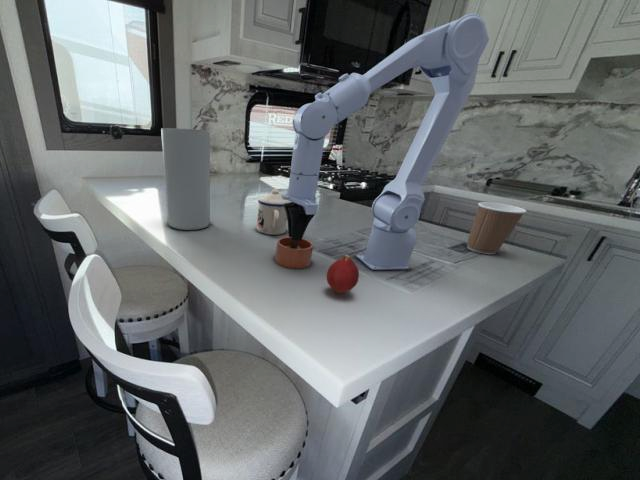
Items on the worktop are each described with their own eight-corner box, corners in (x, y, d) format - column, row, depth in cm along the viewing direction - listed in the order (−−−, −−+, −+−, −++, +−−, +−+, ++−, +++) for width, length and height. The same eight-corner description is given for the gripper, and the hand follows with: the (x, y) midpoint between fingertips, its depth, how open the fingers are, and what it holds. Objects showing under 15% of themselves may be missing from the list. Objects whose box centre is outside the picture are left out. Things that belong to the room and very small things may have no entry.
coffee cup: (511, 255, 83) (535, 210, 77) (487, 258, 80) (510, 212, 74) (475, 242, 92) (494, 201, 85) (451, 245, 88) (469, 202, 82)
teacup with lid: (254, 225, 95) (257, 186, 89) (283, 226, 95) (288, 187, 89) (258, 238, 84) (261, 195, 78) (290, 239, 85) (296, 196, 79)
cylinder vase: (175, 233, 85) (169, 130, 72) (162, 220, 94) (155, 127, 81) (216, 228, 90) (217, 132, 77) (200, 217, 99) (199, 129, 87)
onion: (331, 283, 63) (339, 246, 59) (358, 292, 60) (369, 254, 56) (318, 293, 59) (326, 254, 55) (346, 304, 56) (357, 264, 52)
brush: (297, 256, 72) (303, 221, 68) (300, 260, 70) (306, 224, 66) (283, 256, 72) (287, 221, 67) (285, 260, 70) (290, 224, 65)
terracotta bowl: (303, 254, 76) (306, 236, 74) (315, 268, 69) (318, 249, 67) (271, 254, 75) (273, 236, 73) (280, 268, 68) (282, 249, 66)
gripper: (276, 167, 67) (270, 228, 74) (296, 179, 55) (286, 250, 62) (307, 168, 68) (298, 228, 75) (333, 180, 56) (319, 250, 63)
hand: (294, 238), depth 68 cm, fingers closed on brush, 1 cm apart
